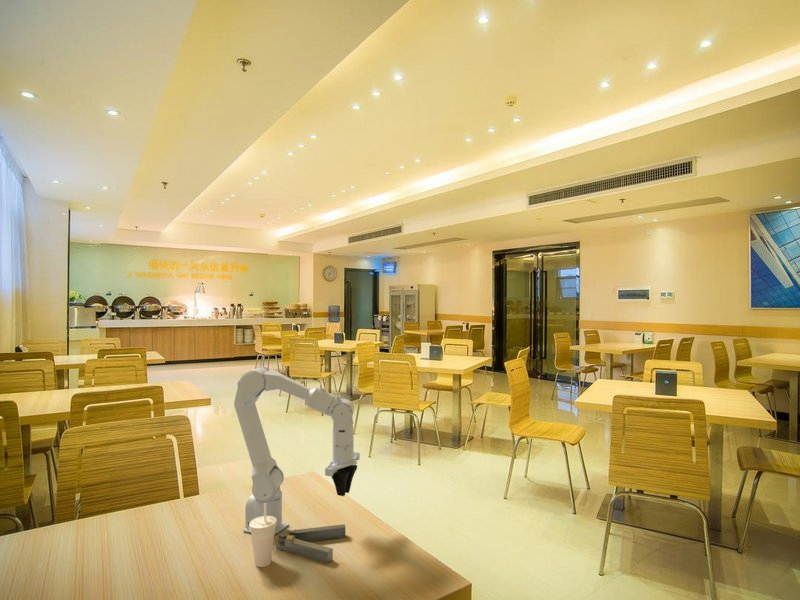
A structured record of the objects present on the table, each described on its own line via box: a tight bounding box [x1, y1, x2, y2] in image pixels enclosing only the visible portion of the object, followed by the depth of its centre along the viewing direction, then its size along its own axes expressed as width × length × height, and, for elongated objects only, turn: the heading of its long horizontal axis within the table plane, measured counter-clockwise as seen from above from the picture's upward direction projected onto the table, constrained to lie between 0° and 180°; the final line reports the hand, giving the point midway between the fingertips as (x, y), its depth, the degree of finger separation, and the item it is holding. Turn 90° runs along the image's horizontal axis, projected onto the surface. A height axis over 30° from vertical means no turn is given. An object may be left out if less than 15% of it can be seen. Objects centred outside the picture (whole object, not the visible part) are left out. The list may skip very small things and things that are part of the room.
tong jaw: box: [278, 523, 346, 542], centre depth 116 cm, size 17×3×3 cm, turn 103°
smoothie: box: [249, 503, 277, 568], centre depth 105 cm, size 6×6×14 cm
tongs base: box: [276, 535, 334, 565], centre depth 110 cm, size 17×5×4 cm, turn 65°
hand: (343, 493), depth 122 cm, fingers closed
